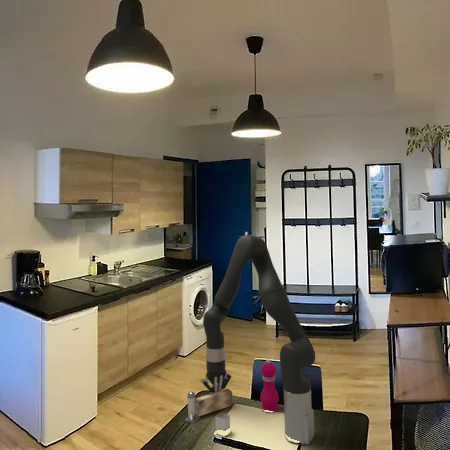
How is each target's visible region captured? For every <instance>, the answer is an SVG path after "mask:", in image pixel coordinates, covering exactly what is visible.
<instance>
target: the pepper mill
mask: <svg viewBox="0 0 450 450" xmlns="http://www.w3.org/2000/svg"><path fill="white" fill-rule="evenodd" d="M260 372H261V374H262V376H261V377H262V380H263V388H262V390H261V392H260V397H259V400H260V402H261V410H262V409H264V410H269V411H276V412H278V409H279V407H278V405H279V404H278V403H279V401H280V397H279V394H278V391H277V389H276V387H275V380H276V374H277V367H276V365H275V364H274V363H273V362H271V359H269V358H267V359H266V360H265V362H264V363H263V364H261V367H260Z"/></svg>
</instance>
